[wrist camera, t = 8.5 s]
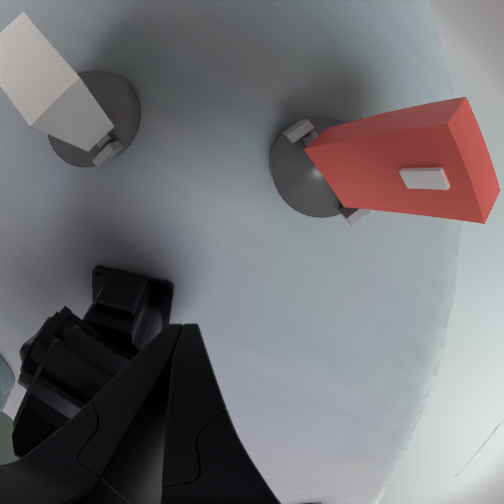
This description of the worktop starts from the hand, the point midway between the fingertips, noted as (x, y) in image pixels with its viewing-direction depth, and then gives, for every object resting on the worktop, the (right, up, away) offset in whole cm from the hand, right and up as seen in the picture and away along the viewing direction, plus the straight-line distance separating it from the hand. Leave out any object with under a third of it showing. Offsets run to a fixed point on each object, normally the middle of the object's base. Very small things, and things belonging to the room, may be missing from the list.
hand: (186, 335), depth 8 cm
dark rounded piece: (+6, +8, +11) cm, 15 cm away
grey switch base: (-8, +11, +9) cm, 16 cm away
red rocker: (+6, +7, +9) cm, 13 cm away
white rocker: (-8, +10, +7) cm, 15 cm away
